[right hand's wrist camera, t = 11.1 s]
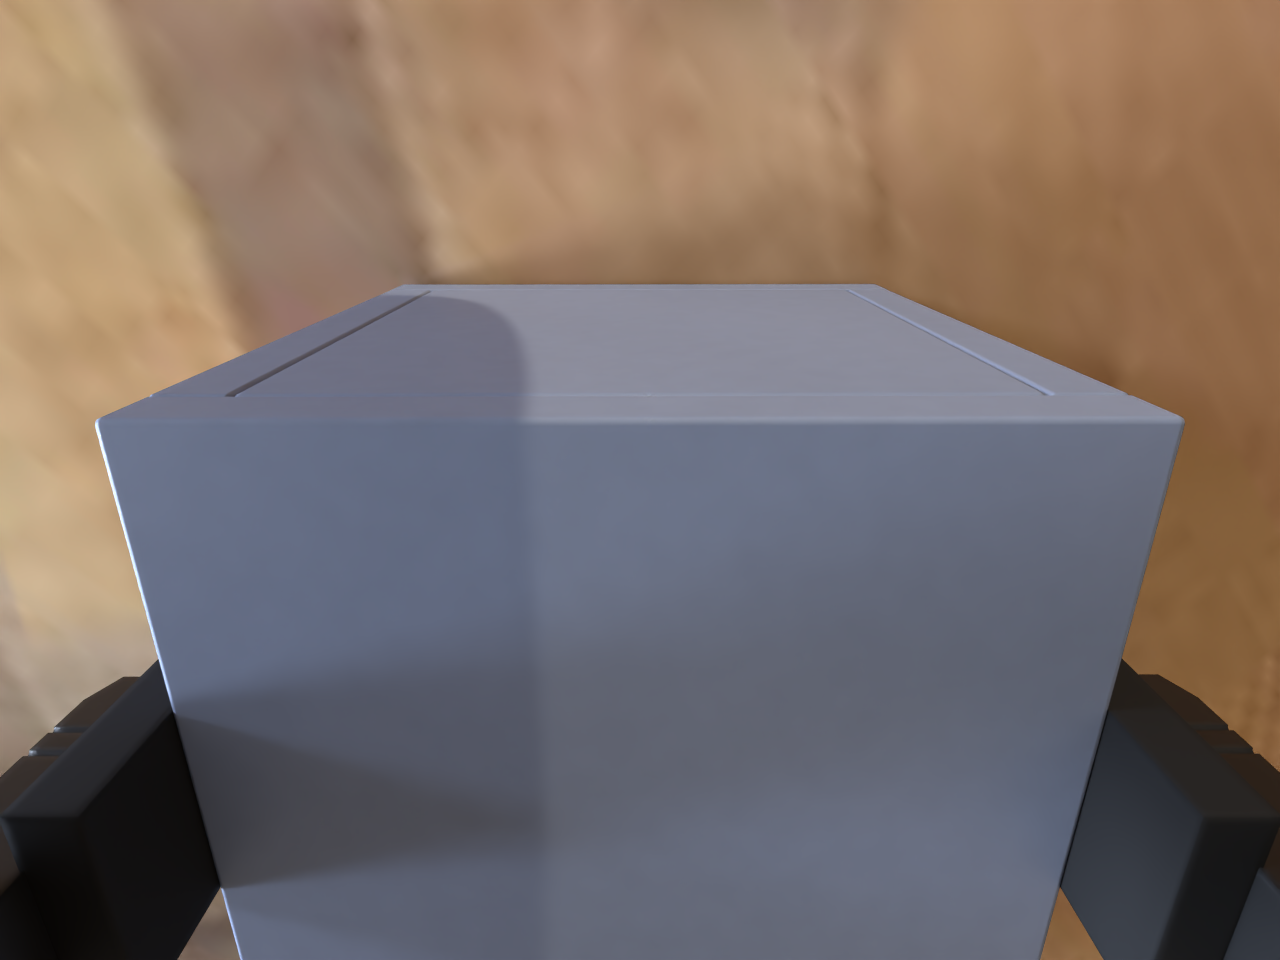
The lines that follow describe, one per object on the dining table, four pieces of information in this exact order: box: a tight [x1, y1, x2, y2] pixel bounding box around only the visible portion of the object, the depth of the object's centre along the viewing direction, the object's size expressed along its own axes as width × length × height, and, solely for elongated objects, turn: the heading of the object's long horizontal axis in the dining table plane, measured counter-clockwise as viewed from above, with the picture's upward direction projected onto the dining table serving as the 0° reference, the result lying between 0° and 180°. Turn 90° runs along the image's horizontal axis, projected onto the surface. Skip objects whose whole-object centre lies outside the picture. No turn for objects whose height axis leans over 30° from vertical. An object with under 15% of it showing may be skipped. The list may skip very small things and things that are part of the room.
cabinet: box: [95, 284, 1185, 960], centre depth 16 cm, size 19×11×10 cm, turn 0°
